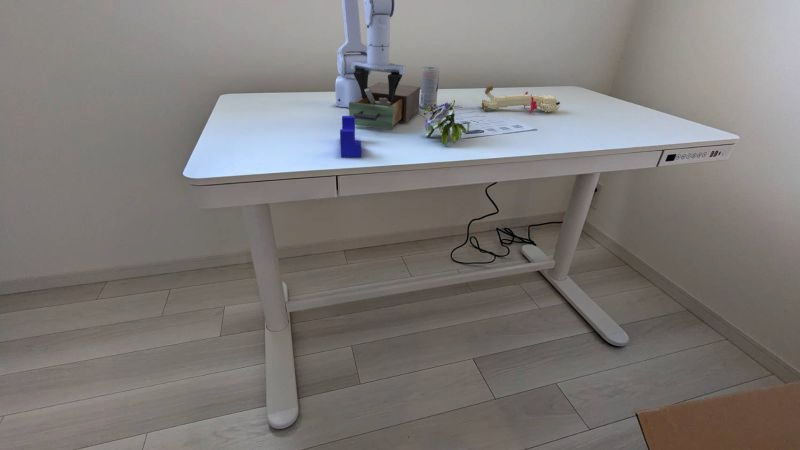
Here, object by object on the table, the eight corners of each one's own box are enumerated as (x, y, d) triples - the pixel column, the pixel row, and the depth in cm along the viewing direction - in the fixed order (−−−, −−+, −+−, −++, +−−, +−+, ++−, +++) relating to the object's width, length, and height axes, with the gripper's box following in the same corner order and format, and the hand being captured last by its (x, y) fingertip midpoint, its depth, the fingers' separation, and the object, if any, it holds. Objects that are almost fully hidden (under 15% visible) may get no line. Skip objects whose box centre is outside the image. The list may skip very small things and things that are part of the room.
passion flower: (427, 156, 105) (419, 113, 106) (467, 149, 105) (458, 106, 106) (431, 146, 94) (421, 98, 94) (475, 137, 94) (465, 89, 95)
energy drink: (436, 105, 131) (439, 67, 125) (436, 109, 126) (439, 70, 120) (420, 104, 131) (422, 66, 125) (419, 108, 127) (421, 69, 120)
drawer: (386, 135, 100) (386, 112, 97) (342, 128, 103) (341, 106, 100) (406, 117, 114) (407, 97, 111) (366, 112, 117) (366, 92, 114)
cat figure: (485, 117, 125) (564, 113, 124) (487, 89, 120) (569, 85, 120) (479, 109, 133) (553, 105, 133) (481, 82, 129) (557, 78, 128)
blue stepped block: (361, 157, 89) (360, 131, 86) (341, 157, 88) (339, 131, 85) (361, 139, 99) (360, 116, 96) (343, 139, 99) (342, 115, 95)
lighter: (389, 116, 110) (390, 87, 106) (390, 118, 109) (391, 89, 105) (364, 116, 109) (364, 86, 105) (364, 118, 108) (364, 88, 104)
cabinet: (405, 123, 112) (406, 96, 108) (361, 117, 116) (361, 91, 112) (418, 111, 123) (420, 86, 119) (378, 106, 127) (378, 82, 123)
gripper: (345, 44, 98) (347, 99, 105) (400, 49, 94) (398, 106, 102) (356, 41, 104) (357, 94, 111) (409, 46, 100) (406, 100, 107)
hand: (377, 99), depth 107 cm, fingers open, 7 cm apart
